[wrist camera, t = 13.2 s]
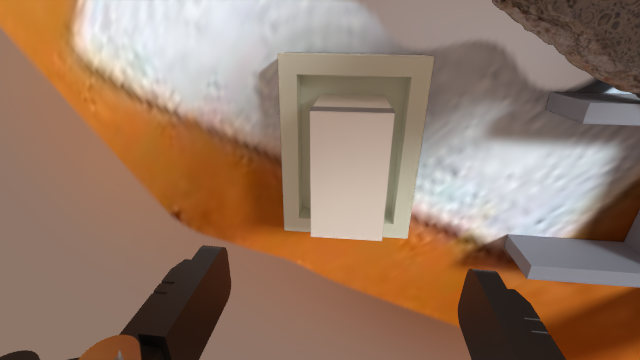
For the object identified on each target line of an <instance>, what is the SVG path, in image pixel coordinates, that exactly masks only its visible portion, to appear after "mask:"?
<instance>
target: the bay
mask: <svg viewBox="0 0 640 360" xmlns="http://www.w3.org/2000/svg"><path fill="white" fill-rule="evenodd" d="M546 110H548V111H551V112H553V113H556V114H559V115H561V116H564V117H567V118H569V119H572V120H574V121H577V122H580V123H582V124H607V125H635V126H640V98H638V97H637V96H636V94H610V93H574V92H551V93H550V96H549V100H548V103H547V106H546ZM504 247H505V249H506V250H507V251H508V253H509V254H510V256H511V257H512V258H513V260H514V261H515V263H516V264H517V266H518V267H519V268H520V270H521V271H522V273H523V274H524V275H525V277H526V278H527V279H535V280H548V281H562V282H575V283H588V284H601V285H614V286H628V287H640V210H639V212H638V214H637V216H636V218H635V220H634V222H633V224H632V226H631V228H630V230H629V232H628V234H627V236H626V238H625V240H624V242H616V241H600V240H585V239H569V238H554V237H538V236H523V235H507V238H506V241H505V245H504Z"/></svg>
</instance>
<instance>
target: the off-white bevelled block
mask: <svg viewBox="0 0 640 360" xmlns="http://www.w3.org/2000/svg"><path fill="white" fill-rule="evenodd" d="M394 119H395V111H394V109H393V108H391V106H390V104H389V102H388V100H387V98H386V96H385V95H350V94H320V96H319V98H318V99H317V101H316V103H315V104H314V106H312V107H311V109H310V208H311V237H325V238H341V239H357V240H374V241H382V237H383V227H384V217H385V207H386V197H387V187H388V178H389V168H390V158H391V148H392V138H393V128H394Z"/></svg>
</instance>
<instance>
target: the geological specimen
mask: <svg viewBox="0 0 640 360" xmlns="http://www.w3.org/2000/svg"><path fill="white" fill-rule="evenodd" d="M492 2H493V4H494V5H495V6H497V7H498V8H499V9H500V10H503V11H505V12H506V13H507V14H508V15H509V16H510V17H511V18H512V19H513V20H515V21H516V22H517V23H520V24H522V26H523V27H524V29H525V30H527V31H530V32H532V33H534V34H536V35H537V36H538V37H539V38H540V39H542V40H543V41H544V42H545V43H547V44H549V45H553V46H554V47H555V48H556V49H557V50H558V52H559V53H561V54H562V55H564V56H565V57H566V59H567V60H568V61H569V62H570V63H571V64H573V65H574V66H576V67H578V68H579V69H581V70H584V71H586V72H588V73H589V74H590V75H592V76H593V77H595V78H596V79H598V80H600V81H602V82H605V83H607V84H609V85H611V86H613V87H614V88H615V89H617V90H620V91H625V92H630V93H632V94H636V96H637V97H638V98H640V0H492Z"/></svg>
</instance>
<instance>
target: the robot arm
mask: <svg viewBox="0 0 640 360" xmlns="http://www.w3.org/2000/svg"><path fill="white" fill-rule="evenodd" d="M230 290H231V277H230V270H229V262H228V254H227V250H226V248H224V247H215V246H214V247H213V246H202V247H201V248H200V249H199V250H198V251H197V253H196V254H195V256H194V257H193V258H192V260H188V259H185V260H183V261H182V262H181V263H179V264H178V265H177V266H175V267H173V268H172V269H171V270H170V271H169V272H168V274H167V275H166V276H165V278H164V279H163V280H162V283H161V284H159V285H158V286H157V288H156V289H155V290H154V293H153V294H151V295H150V297H149V298H148V299H147V301H146V302H145V303H144V304H143V305H142V307H141V308H140V309H139V311H138V312H137V313H136V314H135V316H134V317H133V318H132V319H131V321H130V322H129V323H128V324H127V326H126V327H125V328H124V329H123V331H122V332H121V333H120V334H119V335H116V336H112V337H109V338H106V339H104V340H102V341H100V342H98V343H96V344H95V345H93V346H92V347H90V348H89V349H88V350H87V351H86V352H85V353H84V354H83V355H82V356H81V357H79V358H74V359H69V360H199V358H200V356H201V354H202V352H203V350H204V348H205V346H206V344H207V342H208V340H209V338H210V336H211V334H212V332H213V330H214V328H215V326H216V324H217V322H218V319H219V317H220V315H221V313H222V311H223V309H224V307H225V305H226V303H227V301H228V298H229V295H230ZM458 319H459V324H460V327H461V330H462V333H463V336H464V339H465V342H466V344H467V347H468V350H469V353H470V356H471V359H472V360H566V359H565V358H564V356H563V354H562V353H561V351H560V350H559V348H558V346H557V345H556V343H555V342H554V340H553V339H552V337H551V335H548V331H547V329H546V327H545V326H544V324H543V323H542V322H540V318H539V316H538V315H537V313H536V312H535V310H534V309H533V307H532V305H531V304H530V303H529V302H528V301H527V300H526V299H525V298H524V297H523V296H521V295H520V294H519V293H518V292H517V291H516V290H514V289H507V288H506V286H505V284H504V283H503V281H502V279H501V277H500V276H499V274H498V273H497V272H496V271H489V270H477V269H469V270H468V272H467V275H466V278H465V282H464V286H463V289H462V293H461V297H460V300H459V304H458ZM0 360H40V359H39V357H38V355H37V354H36V353H35V352H32V351H17V352H13V353H9V354H7V355H4V356H2V357H0Z"/></svg>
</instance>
